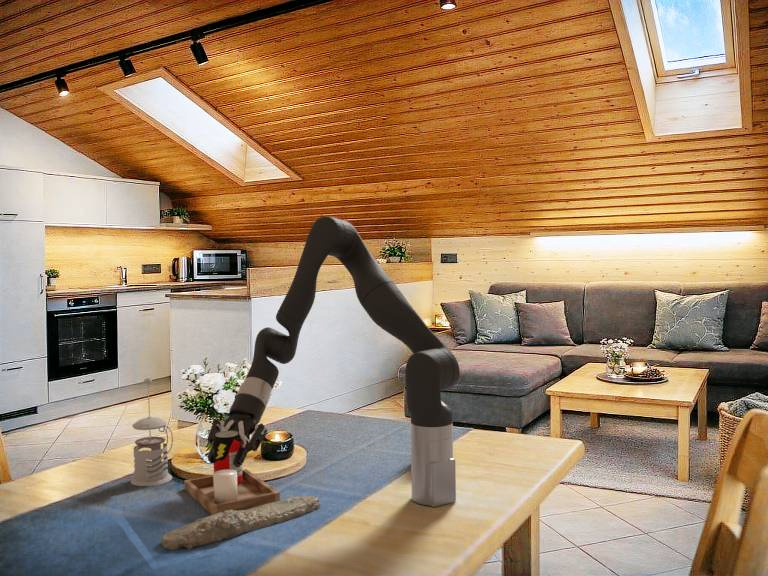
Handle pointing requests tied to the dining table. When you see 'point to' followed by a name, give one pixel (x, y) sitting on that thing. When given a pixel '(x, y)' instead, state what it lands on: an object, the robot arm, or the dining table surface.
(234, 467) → the beverage can
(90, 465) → the dining table surface
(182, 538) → the long grey stone
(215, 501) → the frosted white cylinder
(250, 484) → the tray
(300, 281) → the robot arm
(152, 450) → the french press
